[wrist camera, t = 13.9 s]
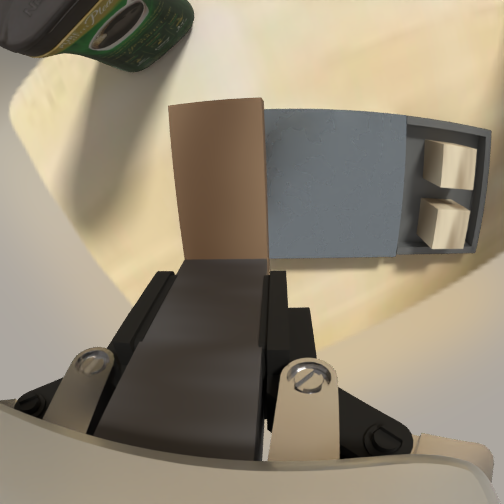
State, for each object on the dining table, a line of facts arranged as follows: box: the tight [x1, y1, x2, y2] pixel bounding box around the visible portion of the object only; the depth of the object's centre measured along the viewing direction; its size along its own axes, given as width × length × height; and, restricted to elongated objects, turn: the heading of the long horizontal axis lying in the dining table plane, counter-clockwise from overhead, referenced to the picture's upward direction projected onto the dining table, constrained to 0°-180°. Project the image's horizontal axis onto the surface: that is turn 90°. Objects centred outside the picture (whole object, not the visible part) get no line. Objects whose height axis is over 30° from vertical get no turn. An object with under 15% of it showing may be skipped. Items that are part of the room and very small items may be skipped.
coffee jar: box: [0, 0, 194, 72], centre depth 15 cm, size 10×8×19 cm
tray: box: [396, 116, 491, 254], centre depth 28 cm, size 11×14×2 cm
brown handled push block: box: [93, 98, 270, 461], centre depth 9 cm, size 3×14×12 cm, turn 2°
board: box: [264, 109, 406, 259], centre depth 29 cm, size 20×14×2 cm
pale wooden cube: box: [416, 198, 470, 249], centre depth 27 cm, size 4×4×4 cm
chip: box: [423, 140, 477, 190], centre depth 25 cm, size 4×4×4 cm
